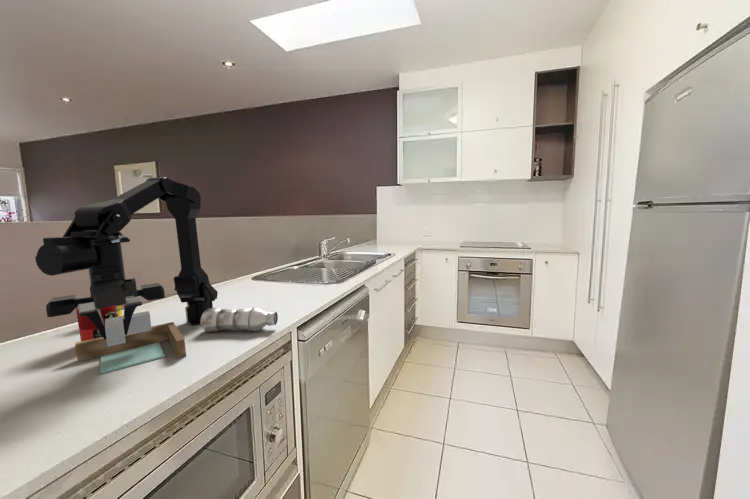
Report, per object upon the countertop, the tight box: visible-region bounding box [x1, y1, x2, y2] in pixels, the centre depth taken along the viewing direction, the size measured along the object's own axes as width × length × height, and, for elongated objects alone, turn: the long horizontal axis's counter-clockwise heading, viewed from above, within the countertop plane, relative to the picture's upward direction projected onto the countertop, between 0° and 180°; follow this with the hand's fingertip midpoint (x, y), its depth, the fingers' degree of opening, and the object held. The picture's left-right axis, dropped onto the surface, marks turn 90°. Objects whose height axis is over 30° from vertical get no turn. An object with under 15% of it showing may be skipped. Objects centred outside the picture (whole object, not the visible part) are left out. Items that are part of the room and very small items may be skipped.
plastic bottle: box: [200, 306, 279, 333], centre depth 86 cm, size 6×7×20 cm
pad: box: [100, 342, 165, 375], centre depth 71 cm, size 11×10×1 cm
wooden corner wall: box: [74, 321, 187, 362], centre depth 71 cm, size 19×16×4 cm
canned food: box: [75, 305, 118, 342], centre depth 80 cm, size 8×8×11 cm
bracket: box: [105, 310, 152, 347], centre depth 71 cm, size 8×8×4 cm
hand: (115, 336), depth 68 cm, fingers closed on bracket, 3 cm apart
